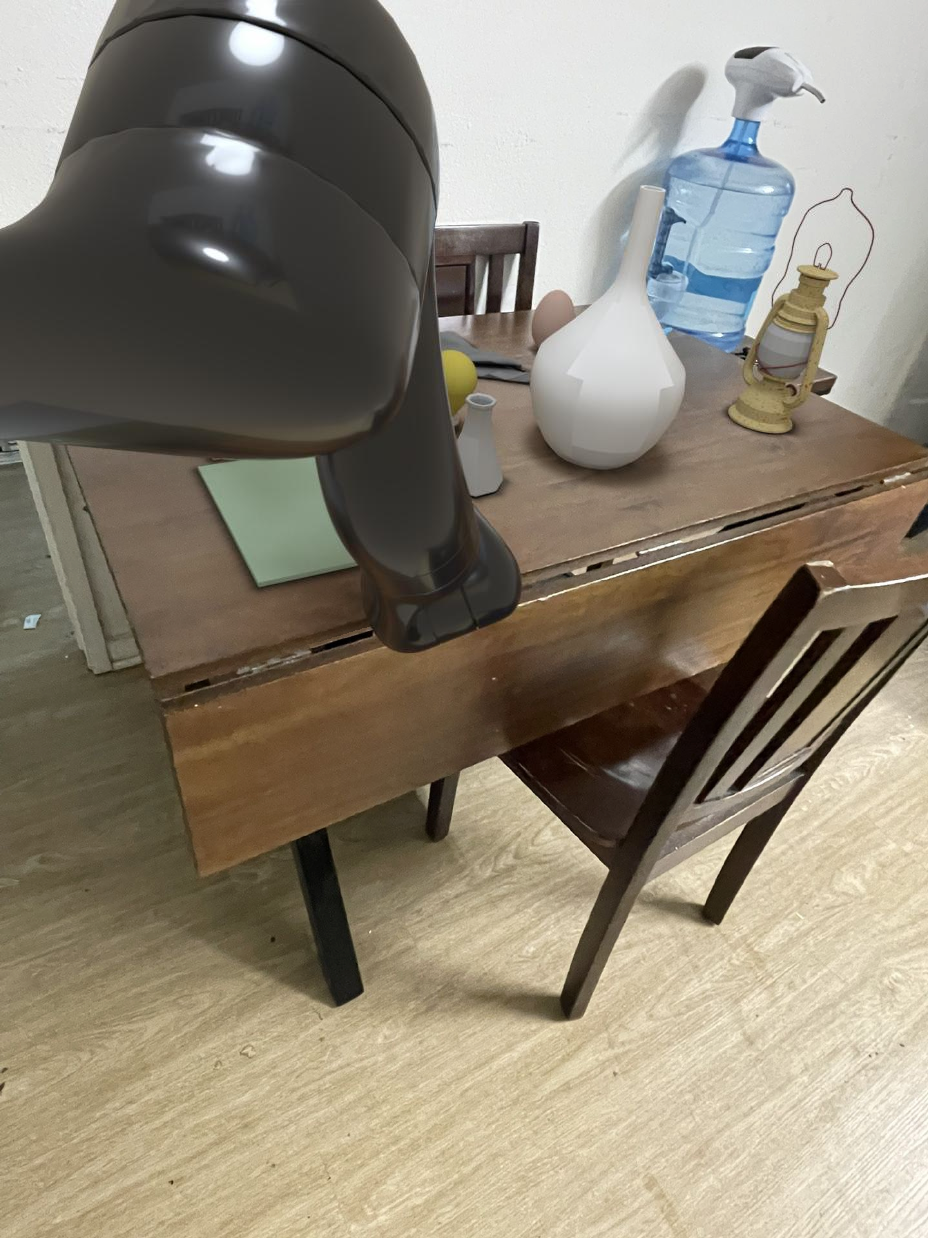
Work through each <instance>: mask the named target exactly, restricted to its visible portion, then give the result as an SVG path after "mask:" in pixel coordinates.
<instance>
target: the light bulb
mask: <svg viewBox="0 0 928 1238" xmlns="http://www.w3.org/2000/svg"><path fill="white" fill-rule="evenodd" d="M442 357H443V365H444V372H445V378H446V385H447V391H448V397H449V403H450V409H451V414H452V420H453V425H454V430H455V429H456V428H455V427H456V426H457V425H458V424H459V422H460V413H459V411H460V410H461V409H462V408H463V407H464V406H465V404H466V402H465V400H466V398H467V397H468V396H469V395H470V394H474V391H475V390H476V389H477V386H478V377H477V372H476V368H475V366H474V364H473V362H472V361H471V360H470V359H469V358H468V357H467V356H466V355H465V354H463V353H461V352H459V351H455V350H445V351H442Z"/></svg>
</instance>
